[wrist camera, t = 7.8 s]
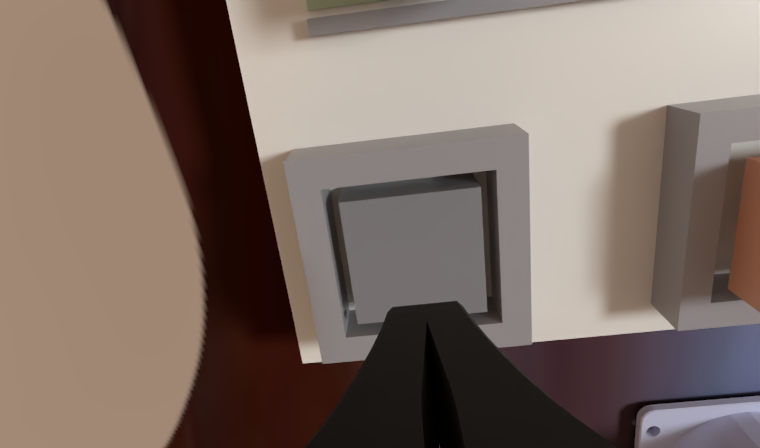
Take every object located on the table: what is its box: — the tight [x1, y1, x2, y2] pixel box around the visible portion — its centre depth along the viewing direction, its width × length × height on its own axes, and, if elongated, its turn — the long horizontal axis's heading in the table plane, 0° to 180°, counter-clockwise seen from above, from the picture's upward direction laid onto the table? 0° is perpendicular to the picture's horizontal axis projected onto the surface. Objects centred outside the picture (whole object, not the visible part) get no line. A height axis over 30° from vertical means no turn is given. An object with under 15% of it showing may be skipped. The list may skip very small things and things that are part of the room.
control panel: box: [226, 0, 760, 364], centre depth 13 cm, size 16×18×4 cm
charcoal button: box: [339, 173, 487, 324], centre depth 14 cm, size 4×4×2 cm
